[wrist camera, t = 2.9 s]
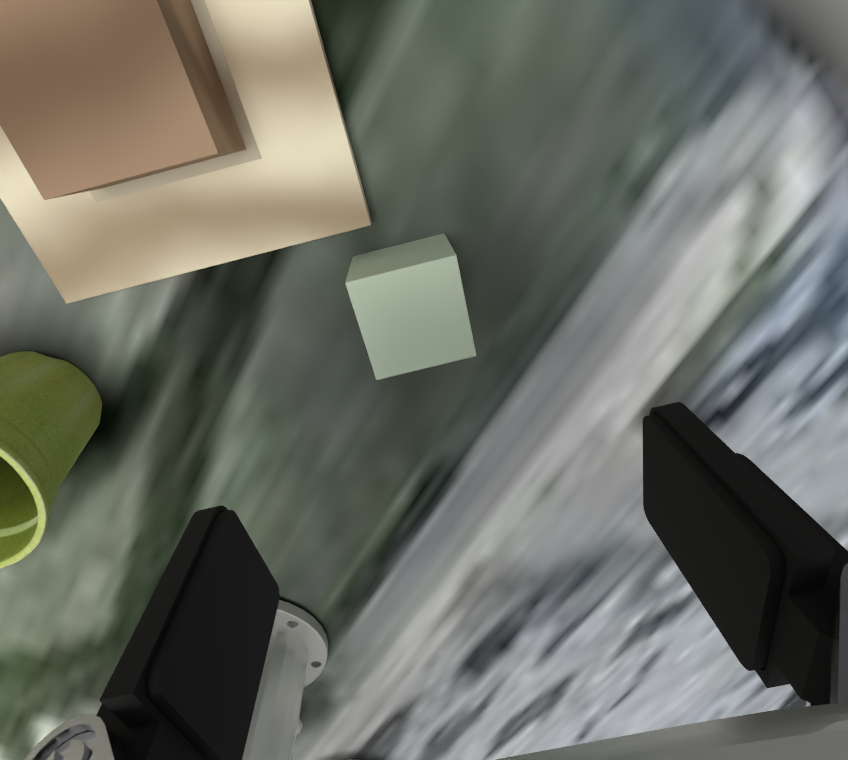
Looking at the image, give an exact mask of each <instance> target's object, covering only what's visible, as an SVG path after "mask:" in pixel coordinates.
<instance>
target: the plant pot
mask: <svg viewBox="0 0 848 760" xmlns="http://www.w3.org/2000/svg"><path fill="white" fill-rule="evenodd" d="M101 410H102V401H101V397H100V395H99V393H98V391H97V389H96V387H95V385H94V384H93V383H92V382H91V380H90V379H89V378H88V377H87V376H86V375H85V374H84V373H83V372H82V371H80V370H79V369H78V368H76V367H75V366H74V365H72V364H70V363H69V362H67V361H64V360H60V359H55V358H51V357H48V356H45V355H42V354H39V353H37V352H33V351H22V352H15V353H10V354H7V355H5V356H2V357H0V568H3V567H6V566H8V565H11V564H14V563H16V562H17V561H19V560H21V559H23V558H24V557H25V556H27V555H28V554H29V553H31V552H32V551H33V550H34V549H35V548H36V546H37V545H38V543H39V542H40V541H41V539H42V538H43V536H44V534H45V531H46V529H47V525H48V520H49V512H50V510H51V507H52V505H53V502H54V497H55V494H56V492H57V490H58V489H59V487H60V485H61V484H62V482H63V481H64V479H65V477H66V476H67V474H68V472H69V471H70V469H71V468H72V466H73V465H74V463H75V461H76V460H77V458H78V457H79V455H80V453H81V452H82V450H83V449H84V447H85V446H86V444H87V443H88V441H89V440H90V438H91V437H92V435H93V433H94V432H95V430H96V429H97V427H98V426H99V423H100V418H101Z"/></svg>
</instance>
